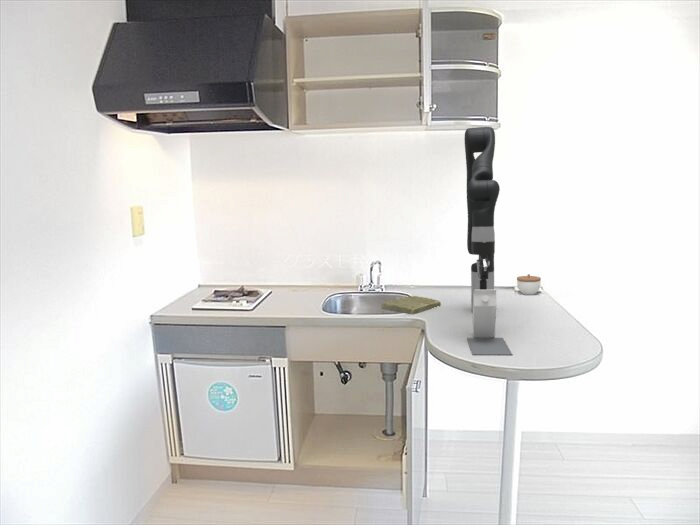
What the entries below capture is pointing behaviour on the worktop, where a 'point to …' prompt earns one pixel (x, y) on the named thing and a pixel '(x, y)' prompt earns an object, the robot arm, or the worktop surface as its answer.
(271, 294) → the worktop surface
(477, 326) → the milk carton
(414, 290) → the worktop surface
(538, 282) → the lidded jar
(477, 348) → the mat
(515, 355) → the worktop surface
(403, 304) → the olive green towel
